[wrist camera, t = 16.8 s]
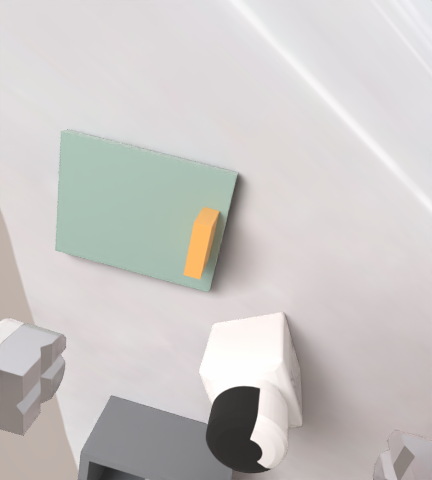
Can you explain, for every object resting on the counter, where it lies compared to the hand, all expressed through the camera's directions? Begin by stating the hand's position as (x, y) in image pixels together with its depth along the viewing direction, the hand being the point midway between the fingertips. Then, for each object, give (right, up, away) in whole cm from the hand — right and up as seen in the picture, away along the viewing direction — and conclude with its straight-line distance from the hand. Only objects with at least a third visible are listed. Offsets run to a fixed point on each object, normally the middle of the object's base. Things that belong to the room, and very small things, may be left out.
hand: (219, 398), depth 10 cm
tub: (-6, -23, +42) cm, 48 cm away
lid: (-7, +7, +29) cm, 31 cm away
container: (+4, -7, +34) cm, 35 cm away
